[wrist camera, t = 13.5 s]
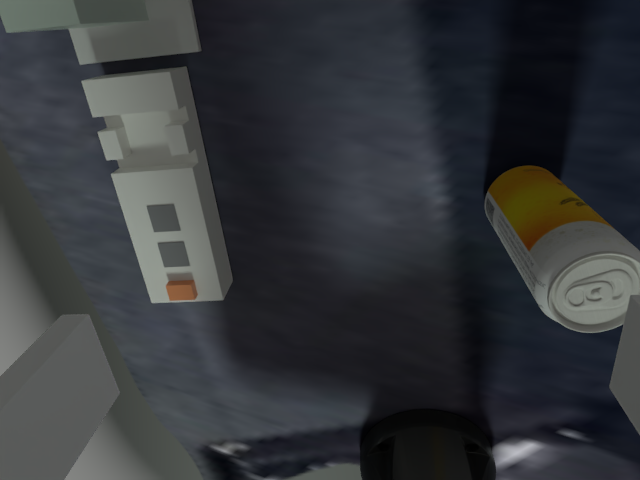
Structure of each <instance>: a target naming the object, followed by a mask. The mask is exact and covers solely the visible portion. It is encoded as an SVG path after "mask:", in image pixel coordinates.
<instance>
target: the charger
mask: <svg viewBox="0 0 640 480" xmlns="http://www.w3.org/2000/svg"><path fill="white" fill-rule="evenodd" d="M0 16H1V19H2V21H3V24H4V27H5V30H6V32H7V33H14V32H29V31H44V30H60V29H75V28H91V27H100V26H108V25H116V24H125V23H133V22H141V21H149V18H148V14H147V10H146V6H145V2H144V0H0Z"/></svg>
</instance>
